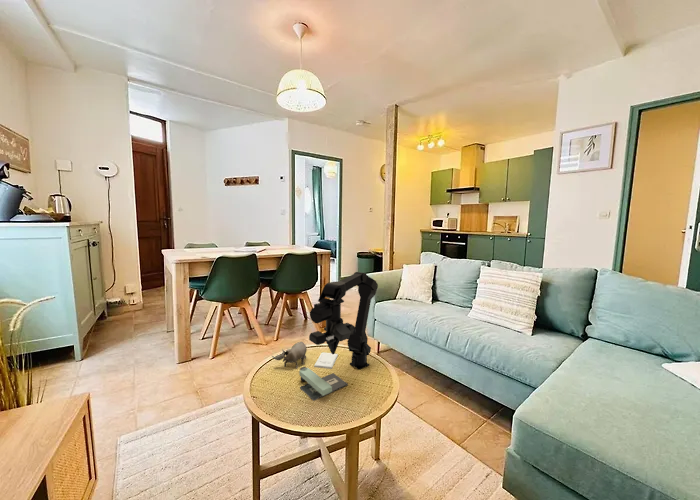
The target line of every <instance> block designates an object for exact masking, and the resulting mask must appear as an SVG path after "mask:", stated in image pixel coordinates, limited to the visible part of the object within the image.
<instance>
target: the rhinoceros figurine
mask: <svg viewBox="0 0 700 500" xmlns="http://www.w3.org/2000/svg"><path fill="white" fill-rule="evenodd" d="M281 351H282V353H280V354H276V355H275V356H273V355H271V357H272V358H273V360H276V361H282V362H283V363H284V365H283V366H284V368H286V367H287V363H289V364H293V363H294V364H295V369H298V368H299V365H298V360H301V362H300V364H301V365H305V364H306V363H305V359H307V356H306V355H307V354H306V353H307V351H308V350H307V345H306V344H305V342H304V341H299V342H296V343H295V344H294V345H292V347H291V348H288V349H286V350H284V349H283V348H282V349H281Z"/></svg>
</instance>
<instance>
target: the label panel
mask: <svg viewBox="0 0 700 500" xmlns="http://www.w3.org/2000/svg"><path fill="white" fill-rule="evenodd" d="M321 378H322V379H323V380H324V381H326V382H327V383H328V384H329V385H331V386H332V392H330V393H328V394H326V395H324V396H323V395H321V394H320V393H319V392H318V391H317V390H316V389H315V388H313V387H312V386H311V385H310V384H309V383H308V382H307V383H305V384H304V385H301V386H299V389H300V390H301V391H302V392H303V393H305V394H306V395H307V397H309V398H310V399H311V400H312V401H313V402H314V401H317V400H319V399H321V398H323V397H326V396H327V395H331V394H332V393H334V392H337V391H338V390H341V389H343V388H345V387H347V386H349V383H348V382H346V381H345V380H343V379H342V378H341V377H339V376H338V375H337V374H335V373H329V374H327V375H325V376H322V377H321ZM300 381H301V382H303V383H304V382H306V381H305V380H304V379H303V378H302V377H301V376H300Z"/></svg>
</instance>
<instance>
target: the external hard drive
mask: <svg viewBox="0 0 700 500" xmlns="http://www.w3.org/2000/svg"><path fill="white" fill-rule="evenodd" d="M338 356H339V353H335V354H332V353H331V352H326V351H325V352H321V353H320V354H319V357H318V358H317V360H316V361H315V363H314V364H313V367H314V368H318V369H319V368H320V369H326V370H327V369H329V370H332V369H333V367H334V366H335V363H336V361H337V359H338Z"/></svg>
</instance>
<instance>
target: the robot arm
mask: <svg viewBox="0 0 700 500" xmlns="http://www.w3.org/2000/svg"><path fill="white" fill-rule="evenodd" d="M354 287H358V289H357V292H358V295H359V298H360V299H359V302H358V303H359V304H358V309H357V315H356V320H355V325H353V324H352V323H349V322H345V323H344V319H343V318H341V316H342V313H341V312H342V311H341V309H342V307H341V306H342V305H341V304H342V303H344V302H345V300H344V299H343V298H344V297H345V296H346V294H347V292H348V291H349V290H351V289H353V288H354ZM378 287H379V285H378V282H377V280H375V279H374V278H372V277H371V276H369V275H368V274H367V273H365V272H362V271H361V272H360V271H355V272H354V273H352V274H351V275H349V276H347V277H345V278H343V279H342V280H340V281H330V282H327V283H325V285H324V287H323V289H321V290H322V291H321V292H320V295H319V298H318V300H317V302H318V303H315V304H313V308H311V309H310V312H309V317H310V320H311V321H312V323H314V324H320V323H322V322H324V321H325V326H324V327H323V331H325V332H321V331H319V330H317V331H314V332H311V333H309V336H308V340H309V341H310V342H312V343H314V345H316V346H317V345H318V346H319V345H322V344H323V345H324V344H325V343H326V345H327V347H328V349H329V351H330V353H332V354H336V351H337V348H338V346H339V344H340V342H343V341H345V340H347V341H346V342H347V347H348V351H349V352H351V362H349V365H350V366H352V367H354V368H355V369H357V370H361V369H364V368H366V367H369V366H370V363H369V362H368V356H369V355H370V353H371V351H372V347H371V346H370V345H369V344H368V342H369V341H368V340H369V339H368V336H367V332H366V329H367V324H368V320H369V314H370V307H371V303H372V299H373V298H374V297H375V295H376V294H377V290H378Z"/></svg>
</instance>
